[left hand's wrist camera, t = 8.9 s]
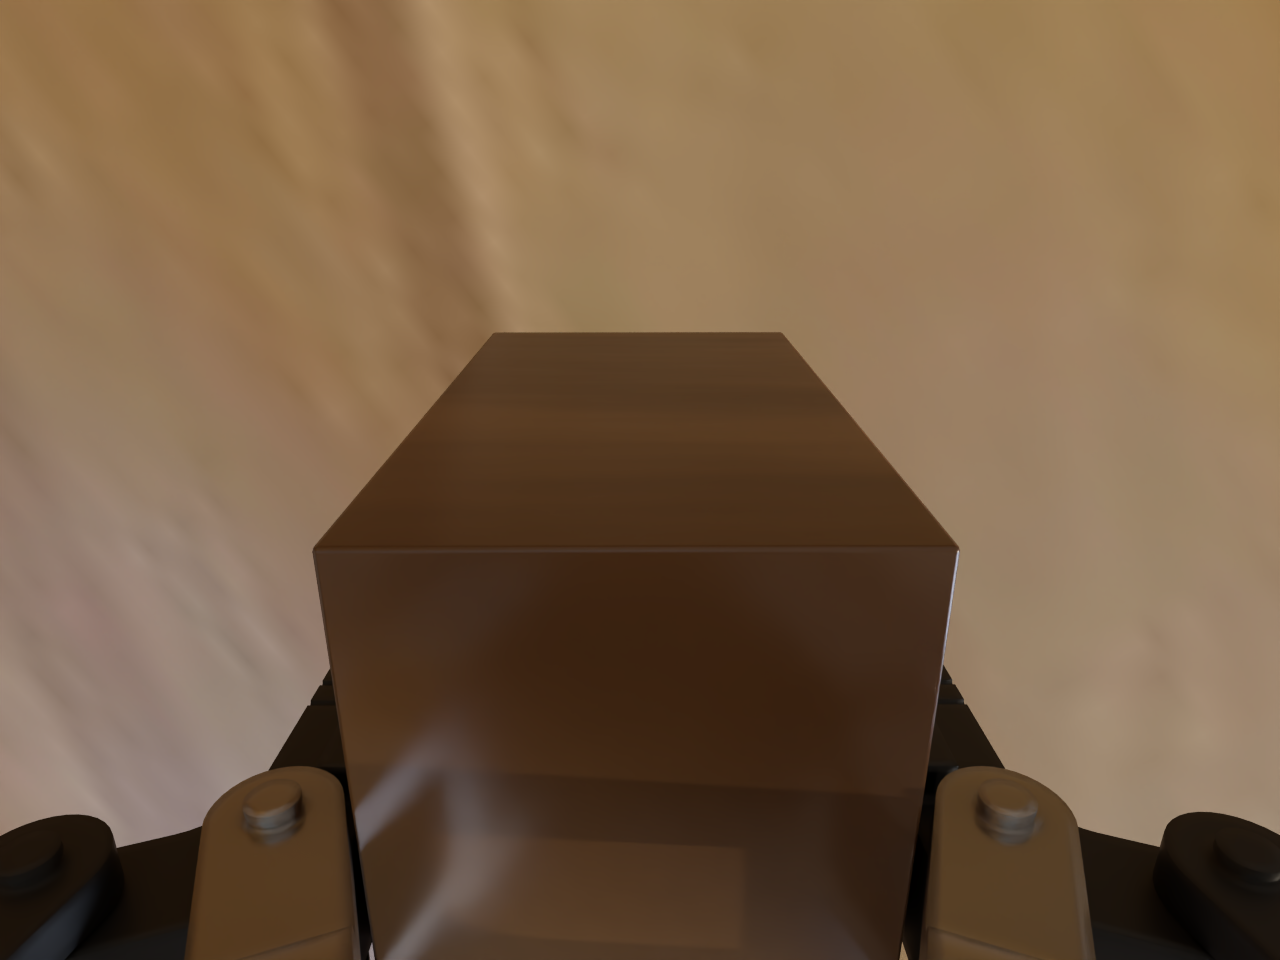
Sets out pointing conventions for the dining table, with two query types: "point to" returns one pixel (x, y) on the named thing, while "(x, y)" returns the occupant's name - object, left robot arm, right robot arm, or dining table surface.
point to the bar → (636, 660)
